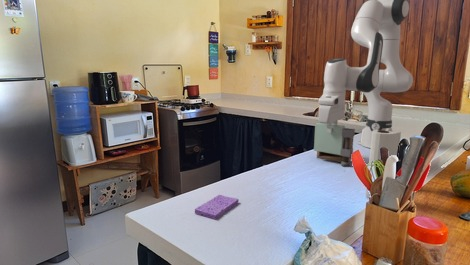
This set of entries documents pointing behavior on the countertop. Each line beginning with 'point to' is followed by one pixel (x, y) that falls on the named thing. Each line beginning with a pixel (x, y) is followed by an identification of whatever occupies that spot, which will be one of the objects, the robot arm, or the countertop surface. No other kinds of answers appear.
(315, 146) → the cabinet door
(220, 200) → the sponges
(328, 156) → the walnut cabinet
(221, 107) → the countertop surface
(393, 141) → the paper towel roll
